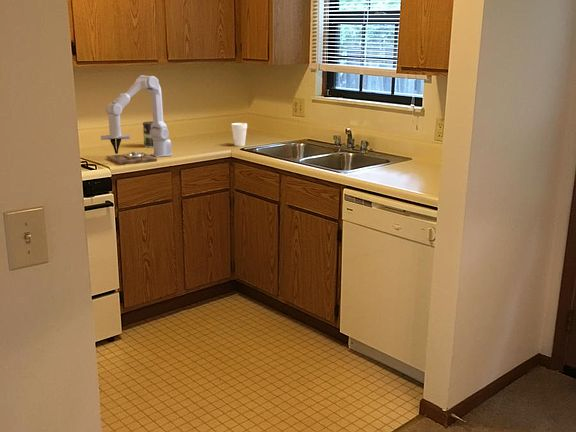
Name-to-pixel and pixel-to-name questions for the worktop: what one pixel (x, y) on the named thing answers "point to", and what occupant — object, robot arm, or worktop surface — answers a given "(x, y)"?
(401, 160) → the worktop surface
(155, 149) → the robot arm
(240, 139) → the foam cup
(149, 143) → the coffee can
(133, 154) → the cam dial
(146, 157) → the walnut stand
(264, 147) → the worktop surface
